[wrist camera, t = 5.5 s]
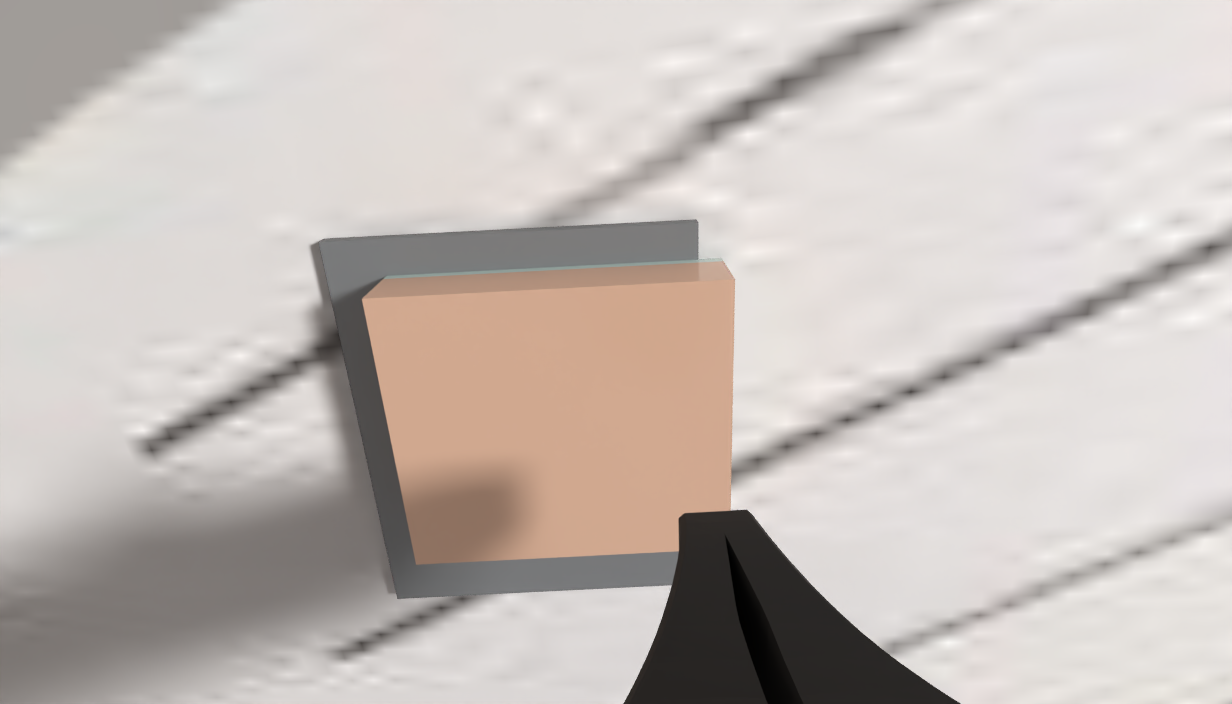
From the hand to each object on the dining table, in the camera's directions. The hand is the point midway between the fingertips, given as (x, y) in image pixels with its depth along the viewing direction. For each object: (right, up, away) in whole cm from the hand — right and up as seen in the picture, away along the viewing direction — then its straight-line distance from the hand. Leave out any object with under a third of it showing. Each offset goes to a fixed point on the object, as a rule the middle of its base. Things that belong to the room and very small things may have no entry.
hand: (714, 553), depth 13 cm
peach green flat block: (+1, +2, +6) cm, 6 cm away
